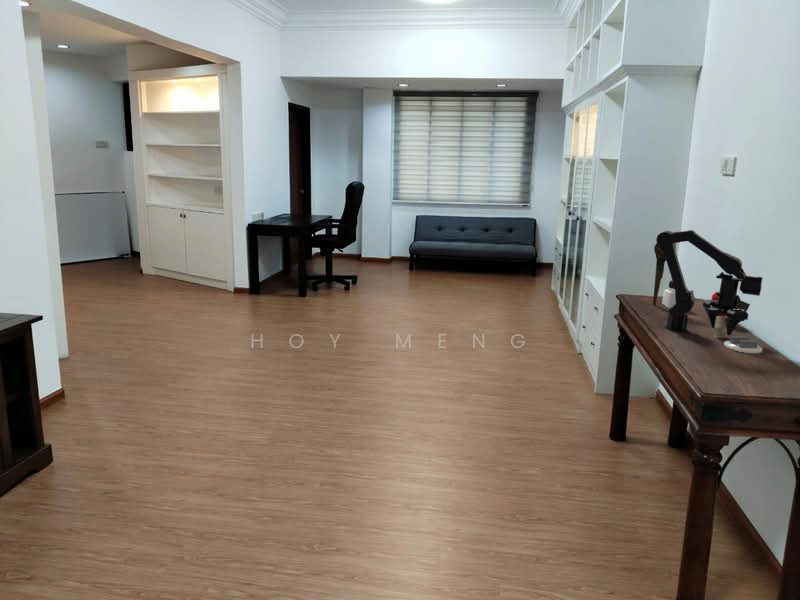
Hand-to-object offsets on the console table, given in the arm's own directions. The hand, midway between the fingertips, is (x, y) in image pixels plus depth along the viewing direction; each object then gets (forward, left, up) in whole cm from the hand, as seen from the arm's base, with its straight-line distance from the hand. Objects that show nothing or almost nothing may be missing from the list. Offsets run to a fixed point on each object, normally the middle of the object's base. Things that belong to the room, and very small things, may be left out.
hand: (720, 331), depth 227 cm
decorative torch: (0, +48, -2) cm, 48 cm away
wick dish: (0, -13, -2) cm, 13 cm away
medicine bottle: (+8, +46, -2) cm, 47 cm away
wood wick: (0, 0, -2) cm, 2 cm away
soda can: (+14, +22, -2) cm, 26 cm away
